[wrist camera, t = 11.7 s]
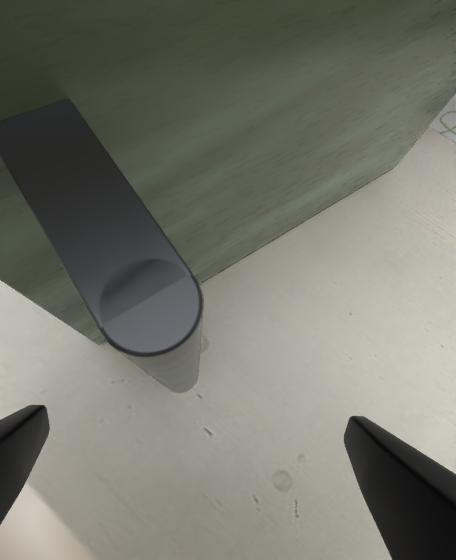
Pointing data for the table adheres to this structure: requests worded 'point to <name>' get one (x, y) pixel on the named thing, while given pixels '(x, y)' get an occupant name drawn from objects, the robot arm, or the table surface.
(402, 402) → the table surface
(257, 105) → the green cabinet door
